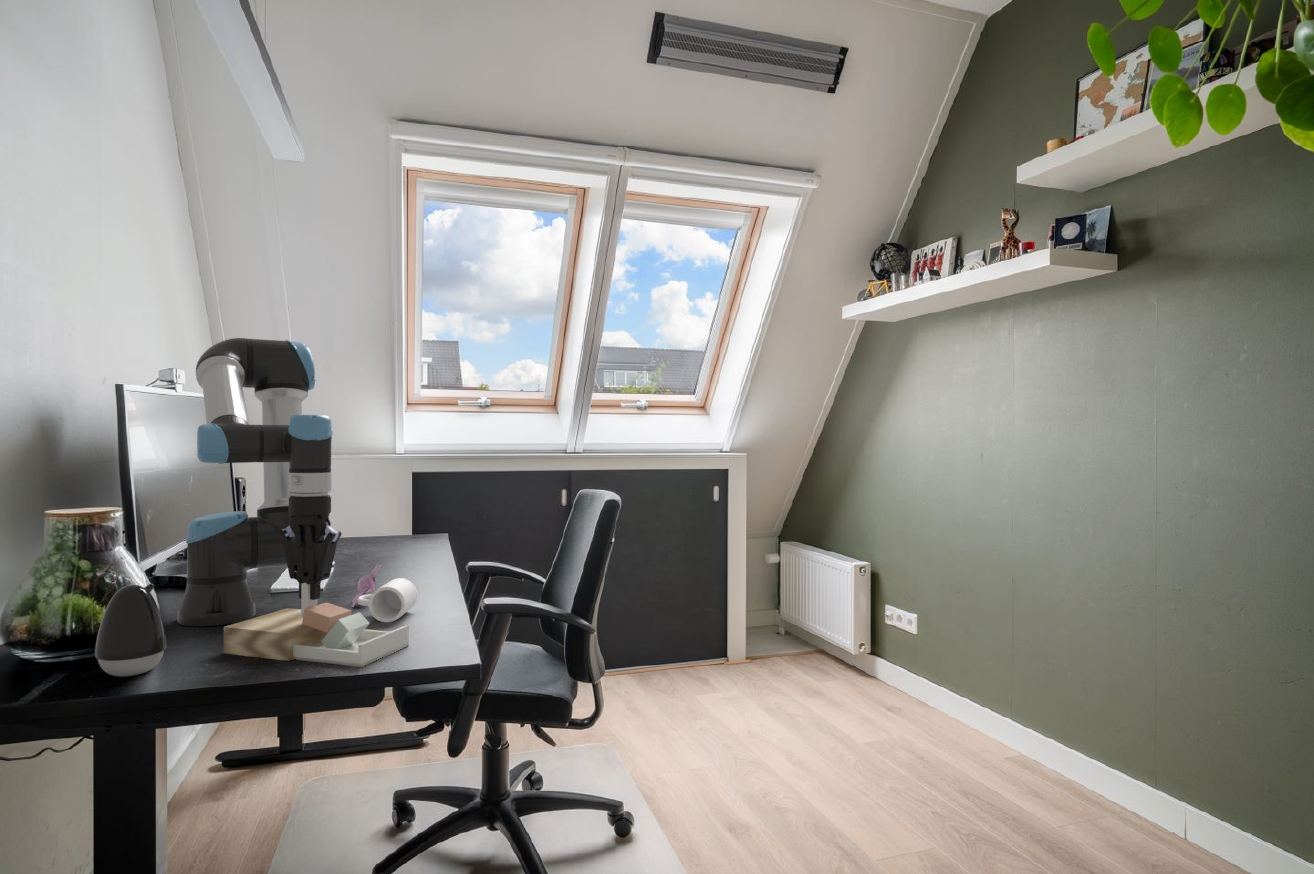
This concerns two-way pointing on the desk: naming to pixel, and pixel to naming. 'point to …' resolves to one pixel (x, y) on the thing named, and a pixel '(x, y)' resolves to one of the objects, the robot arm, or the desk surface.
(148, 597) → the grey egg-shaped pod
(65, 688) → the desk surface
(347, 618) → the tile grey
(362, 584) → the lily
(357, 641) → the tray
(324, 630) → the tile terracotta
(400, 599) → the mug
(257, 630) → the oak board
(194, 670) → the desk surface
